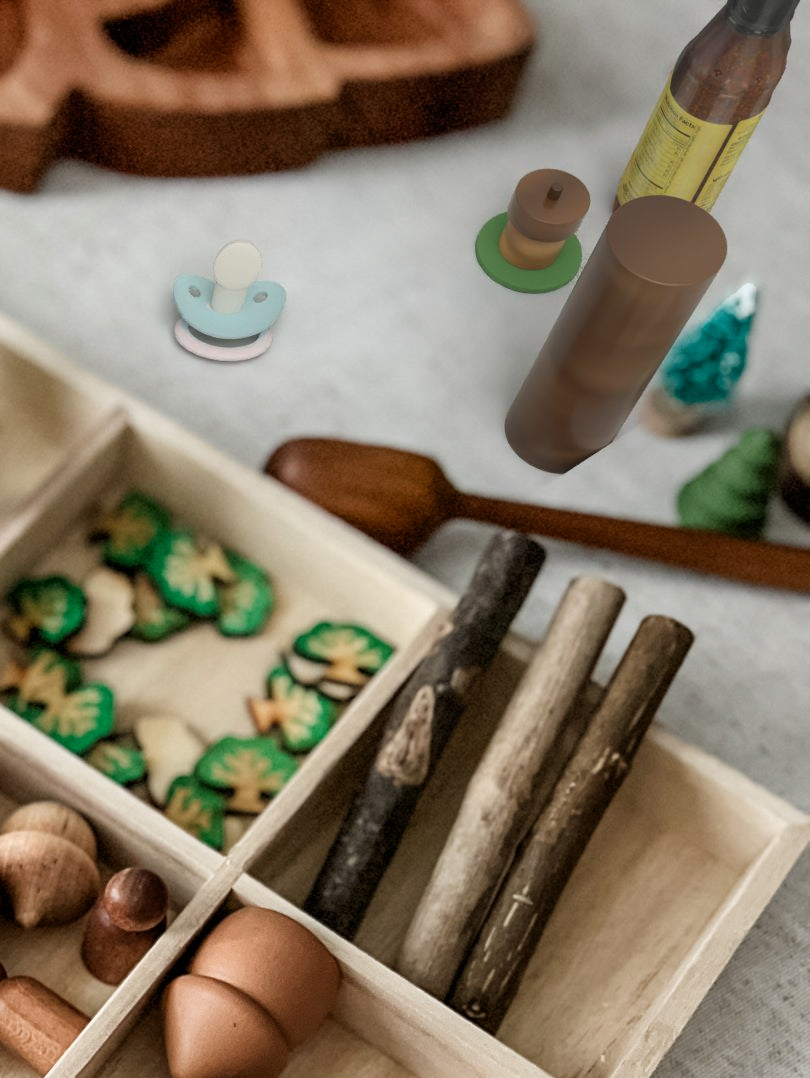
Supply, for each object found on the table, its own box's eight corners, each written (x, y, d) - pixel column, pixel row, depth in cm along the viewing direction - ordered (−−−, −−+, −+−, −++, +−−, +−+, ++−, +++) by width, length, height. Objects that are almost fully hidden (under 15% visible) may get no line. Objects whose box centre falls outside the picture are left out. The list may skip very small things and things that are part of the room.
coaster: (602, 262, 114) (604, 257, 113) (526, 309, 112) (528, 305, 112) (528, 198, 116) (530, 194, 116) (453, 244, 114) (455, 239, 114)
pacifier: (275, 372, 111) (279, 299, 113) (298, 304, 105) (302, 228, 107) (163, 361, 111) (169, 289, 113) (180, 293, 105) (186, 218, 107)
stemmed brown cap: (579, 254, 114) (611, 192, 109) (527, 286, 113) (557, 225, 108) (529, 210, 115) (558, 147, 110) (477, 242, 114) (504, 179, 109)
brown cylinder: (630, 441, 108) (753, 249, 93) (555, 491, 107) (668, 303, 92) (557, 375, 110) (666, 176, 95) (483, 423, 109) (581, 229, 94)
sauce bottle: (686, 180, 116) (842, -97, 98) (709, 249, 114) (873, -21, 96) (592, 185, 116) (730, -91, 98) (613, 255, 114) (759, -15, 96)
